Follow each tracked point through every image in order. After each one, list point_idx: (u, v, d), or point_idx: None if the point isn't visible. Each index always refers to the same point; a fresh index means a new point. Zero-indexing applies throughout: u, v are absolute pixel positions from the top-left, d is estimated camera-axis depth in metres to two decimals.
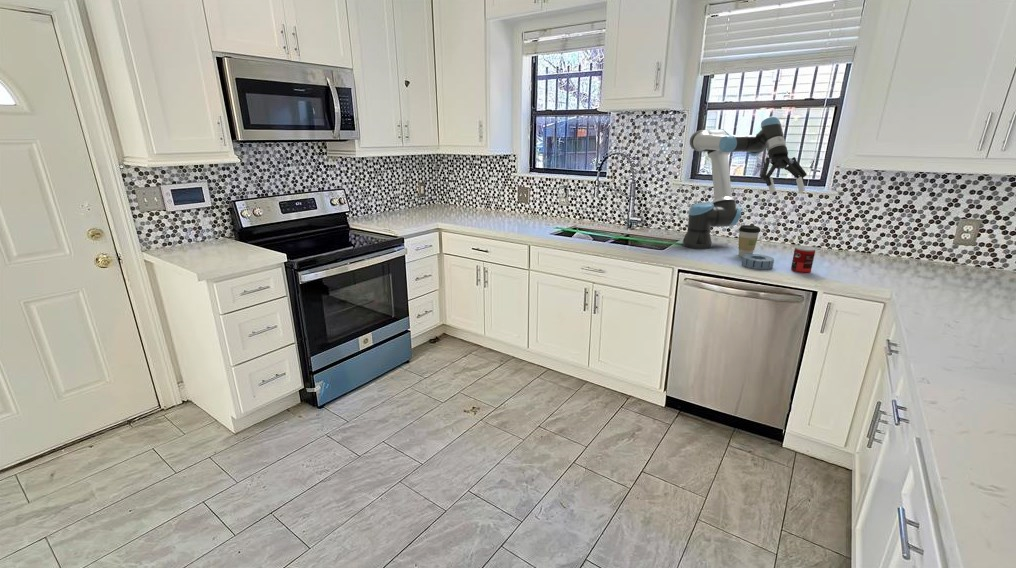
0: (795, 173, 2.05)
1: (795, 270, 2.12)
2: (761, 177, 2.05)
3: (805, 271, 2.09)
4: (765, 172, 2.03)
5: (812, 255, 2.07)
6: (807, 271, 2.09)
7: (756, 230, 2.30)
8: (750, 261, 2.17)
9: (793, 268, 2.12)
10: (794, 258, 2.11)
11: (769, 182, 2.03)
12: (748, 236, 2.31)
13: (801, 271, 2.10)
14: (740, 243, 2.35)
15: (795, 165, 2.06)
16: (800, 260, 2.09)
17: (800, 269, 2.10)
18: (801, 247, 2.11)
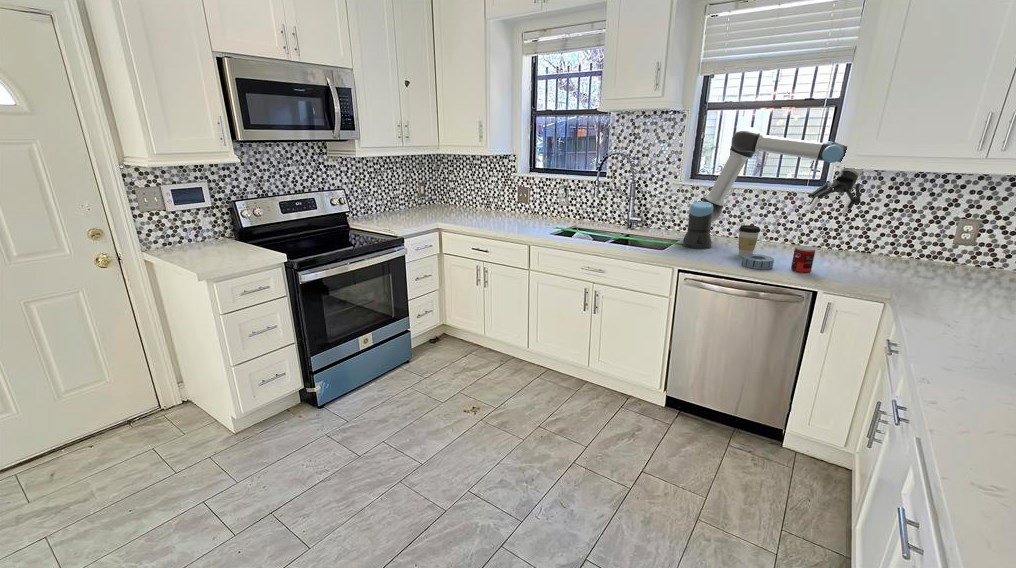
0: (822, 195, 2.17)
1: (795, 270, 2.12)
2: (859, 200, 2.04)
3: (805, 271, 2.09)
4: None
5: (812, 255, 2.07)
6: (807, 271, 2.09)
7: (756, 230, 2.30)
8: (750, 261, 2.17)
9: (793, 268, 2.12)
10: (794, 258, 2.11)
11: None
12: (748, 236, 2.31)
13: (801, 271, 2.10)
14: (740, 243, 2.35)
15: (824, 189, 2.19)
16: (800, 260, 2.09)
17: (800, 269, 2.10)
18: (801, 247, 2.11)
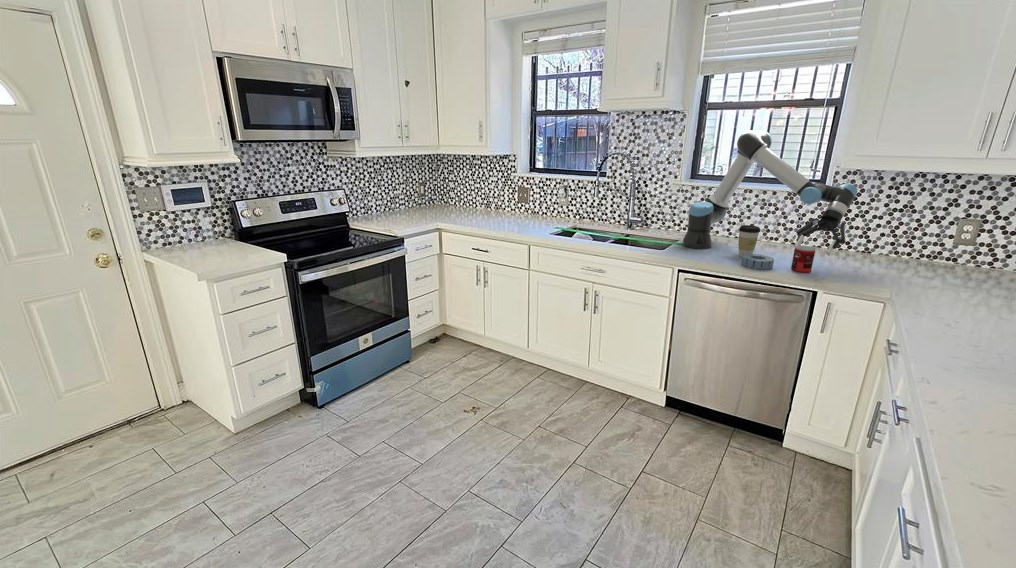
0: (808, 233, 2.17)
1: (795, 270, 2.12)
2: (844, 240, 2.04)
3: (805, 271, 2.09)
4: None
5: (812, 255, 2.07)
6: (807, 271, 2.09)
7: (756, 230, 2.30)
8: (750, 261, 2.17)
9: (793, 268, 2.12)
10: (794, 258, 2.11)
11: None
12: (748, 236, 2.31)
13: (801, 271, 2.10)
14: (740, 243, 2.35)
15: (810, 226, 2.19)
16: (800, 260, 2.09)
17: (800, 269, 2.10)
18: (801, 247, 2.11)
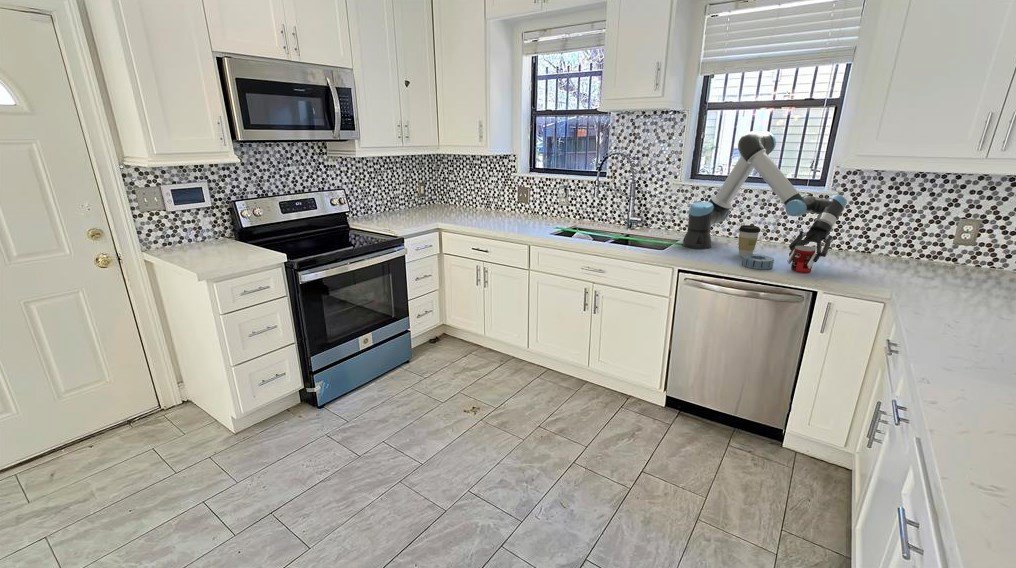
0: None
1: (795, 270, 2.12)
2: (824, 254, 2.05)
3: (805, 271, 2.09)
4: None
5: (812, 255, 2.07)
6: (807, 271, 2.09)
7: (756, 230, 2.30)
8: (750, 261, 2.17)
9: (793, 268, 2.12)
10: (794, 258, 2.11)
11: None
12: (748, 236, 2.31)
13: (801, 271, 2.10)
14: (740, 243, 2.35)
15: (800, 239, 2.17)
16: (800, 259, 2.09)
17: (800, 269, 2.10)
18: (801, 247, 2.11)
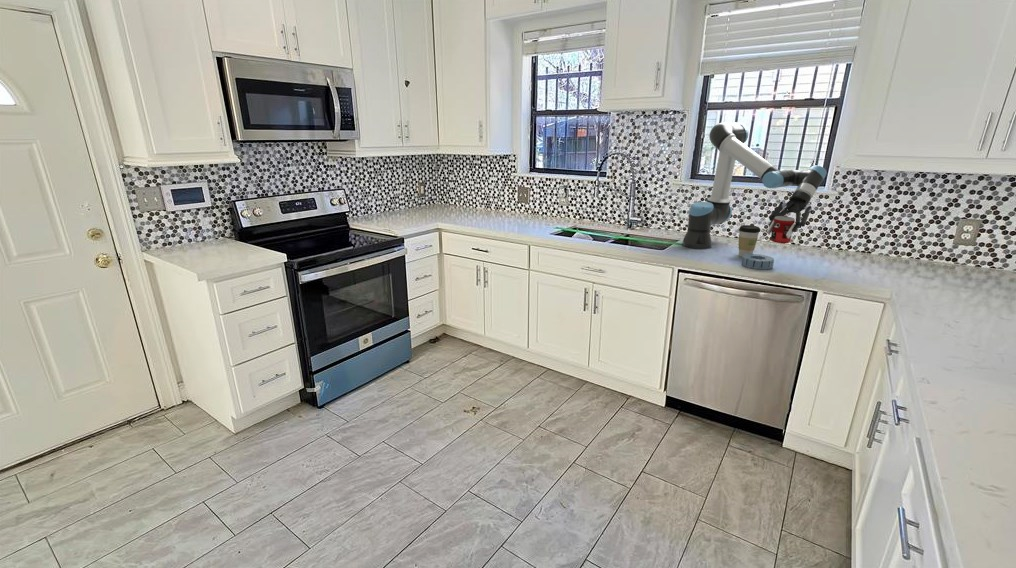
0: None
1: (774, 240, 2.12)
2: (803, 223, 2.05)
3: (784, 241, 2.10)
4: None
5: (791, 225, 2.07)
6: (786, 241, 2.10)
7: (756, 230, 2.30)
8: (750, 261, 2.17)
9: (772, 238, 2.13)
10: (773, 228, 2.12)
11: None
12: (748, 236, 2.31)
13: (780, 241, 2.10)
14: (740, 243, 2.35)
15: (780, 210, 2.17)
16: (780, 229, 2.09)
17: (780, 239, 2.10)
18: (781, 217, 2.11)
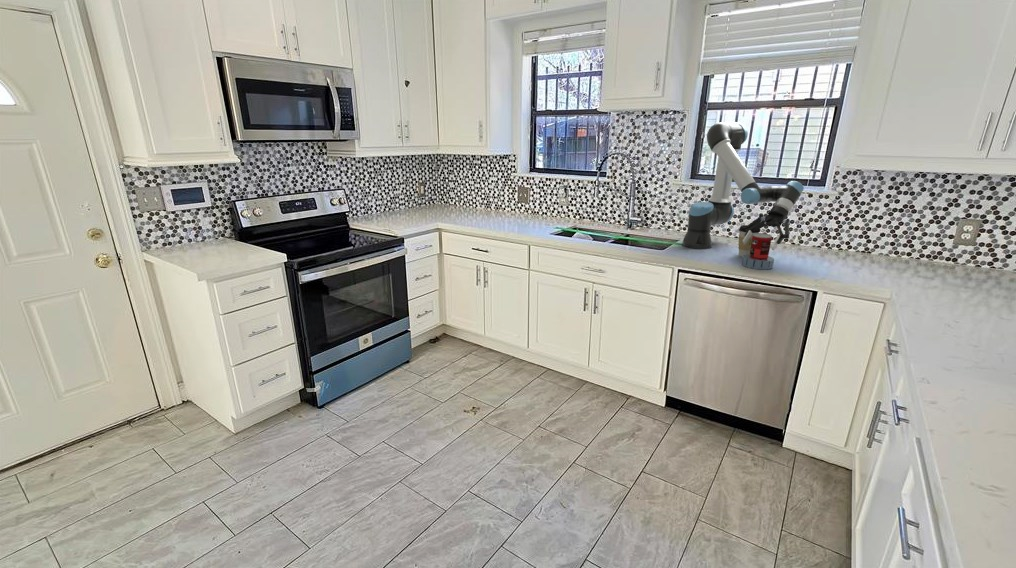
0: (755, 229, 2.23)
1: (753, 256, 2.19)
2: (787, 236, 2.10)
3: (762, 257, 2.17)
4: None
5: (768, 242, 2.14)
6: (764, 257, 2.17)
7: (756, 230, 2.30)
8: (750, 261, 2.17)
9: (751, 255, 2.20)
10: (752, 245, 2.19)
11: None
12: None
13: (758, 257, 2.17)
14: (740, 243, 2.35)
15: (758, 222, 2.24)
16: (757, 246, 2.16)
17: (758, 256, 2.17)
18: (758, 234, 2.18)
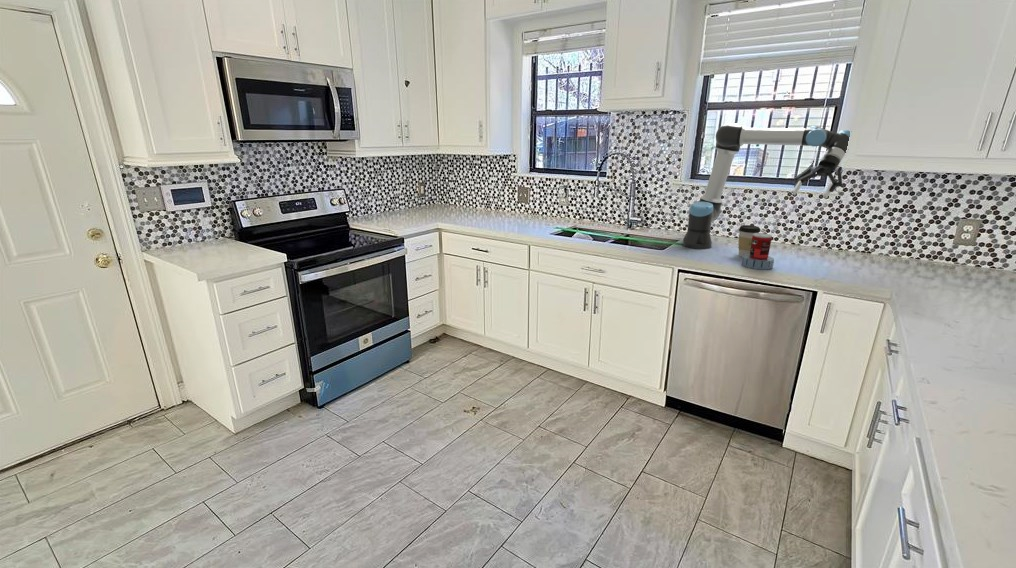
0: (805, 179, 2.21)
1: (753, 256, 2.19)
2: (840, 183, 2.08)
3: (762, 257, 2.17)
4: None
5: (768, 242, 2.14)
6: (764, 257, 2.17)
7: (756, 230, 2.30)
8: (750, 261, 2.17)
9: (751, 255, 2.20)
10: (752, 245, 2.19)
11: None
12: (748, 236, 2.31)
13: (758, 257, 2.17)
14: (740, 243, 2.35)
15: (807, 173, 2.22)
16: (757, 246, 2.16)
17: (758, 256, 2.17)
18: (758, 234, 2.18)
